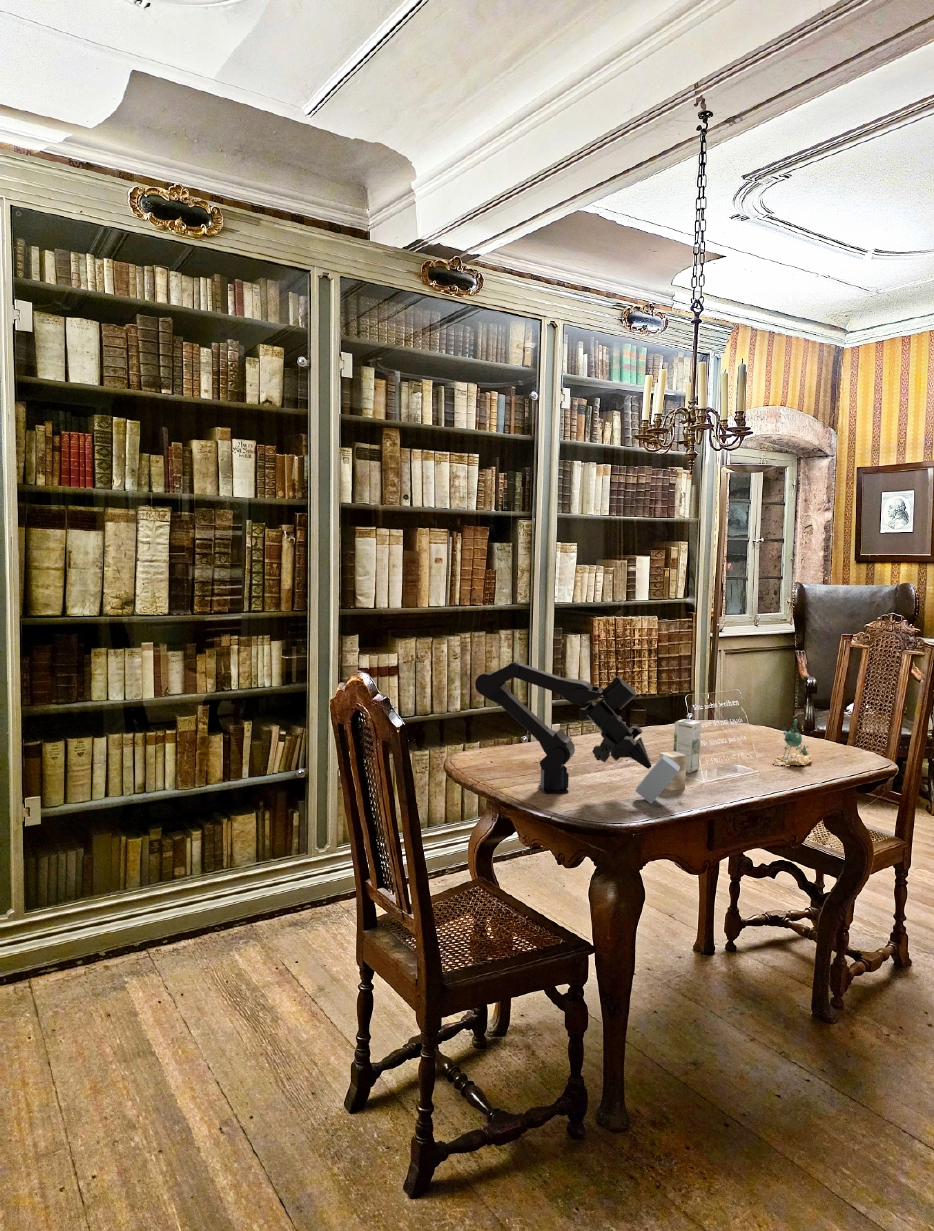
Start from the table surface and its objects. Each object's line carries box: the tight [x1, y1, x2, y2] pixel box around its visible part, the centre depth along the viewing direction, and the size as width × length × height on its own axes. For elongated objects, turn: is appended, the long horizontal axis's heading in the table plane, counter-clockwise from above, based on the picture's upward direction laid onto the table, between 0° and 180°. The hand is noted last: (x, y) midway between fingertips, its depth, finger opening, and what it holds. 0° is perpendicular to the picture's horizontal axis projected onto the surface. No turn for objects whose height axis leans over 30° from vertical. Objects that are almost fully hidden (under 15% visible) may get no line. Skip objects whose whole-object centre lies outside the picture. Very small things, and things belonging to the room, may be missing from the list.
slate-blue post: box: [634, 754, 680, 805], centre depth 205 cm, size 5×5×11 cm
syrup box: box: [673, 718, 702, 774], centre depth 236 cm, size 6×6×14 cm
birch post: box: [658, 751, 687, 791], centre depth 219 cm, size 5×5×9 cm
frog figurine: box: [773, 718, 812, 766], centre depth 247 cm, size 10×18×15 cm, turn 116°
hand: (650, 767), depth 205 cm, fingers closed
